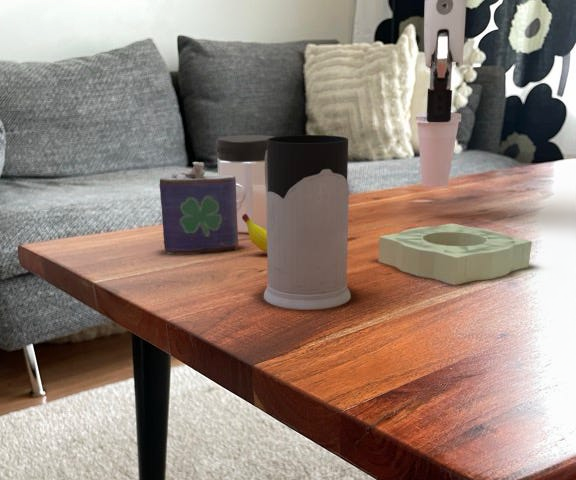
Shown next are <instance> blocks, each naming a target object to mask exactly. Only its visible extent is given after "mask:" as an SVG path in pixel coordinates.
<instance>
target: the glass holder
mask: <svg viewBox="0 0 576 480" xmlns="http://www.w3.org/2000/svg"><path fill="white" fill-rule="evenodd" d="M348 165H349V138H348V137H344V136H339V135H324V134H295V135H294V134H293V135H280V136H272V138H269V139H267V151H266V155H265V166H264V170H265V186H266V214H267V252H266V253H267V254H266V255H267V256H266V257H267V258H266V260H267V285H266V288H265V290H264V293H263V299H264V301H266V302H267V303H269V304H271V305H273V306H276V307H278V308H279V307H280V308H283V309H289V310H290V309H291V310H302V311H304V310H305V311H306V310H307V311H310V310H312V311H314V310H324V309H325V310H326V309H331V308H335V307H339V306H341V305H344V304H346V303H347V302H349V301H350V300H351V297H352V296H351V291H350V289H349V288H348V283H347V280H348V279H347V275H348V244H349V243H348V242H349V240H348V239H349V203H350V202H349V200H350V189H349V183H348V172H349V171H348V170H349V169H348V167H349V166H348Z"/></svg>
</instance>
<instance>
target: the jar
mask: <svg viewBox="0 0 576 480" xmlns="http://www.w3.org/2000/svg"><path fill="white" fill-rule="evenodd" d="M272 137H273V136H272V135H264V134H263V135H262V134H238V135H226V136H220V137H217V138H216V161H217V175H233V176H235V178H236V179H235V180H236V202H237V226H238V234H249V232H248V226H247V224H246V222H245V221H244V220H243V219H242V216H243V215H244V214H247V215H248V217H249V219H250V220H251V221H252V222H253V223H254V224H256V225H258V226H260V227H262V228H263V229H265V230H267V214H266V186H265V170H264V166H265V155H266V151H267V139H269V138H272Z"/></svg>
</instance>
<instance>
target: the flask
mask: <svg viewBox="0 0 576 480" xmlns="http://www.w3.org/2000/svg"><path fill="white" fill-rule="evenodd" d="M204 163H205V162H203V161H202V162H201V161H200V162H199V161H194V162H193V161H192V163H191V164H192V165H193V167H192V169H191V170H190V171H188V172H179V173H176V172H173V173H172V174H171V176H164V177H163V176H162V177H161V178H159V184H158V185H159V186H158V187H159V194H160V196H159V199H160V205H161V217H162V218H161V219H162V230H163V231H162V235H163V245H164V250H165V253H166V255H197V254H203V253H208V254H210V253H219V252H230V251H236V250H238V249H239V233H238V226H237V202H236V180H235V179H236V178H235V176H233V175H218V174H216V175H205V173H206V171H205V170H204V169H203V167H205V164H204ZM181 175H182V176H181Z"/></svg>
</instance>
